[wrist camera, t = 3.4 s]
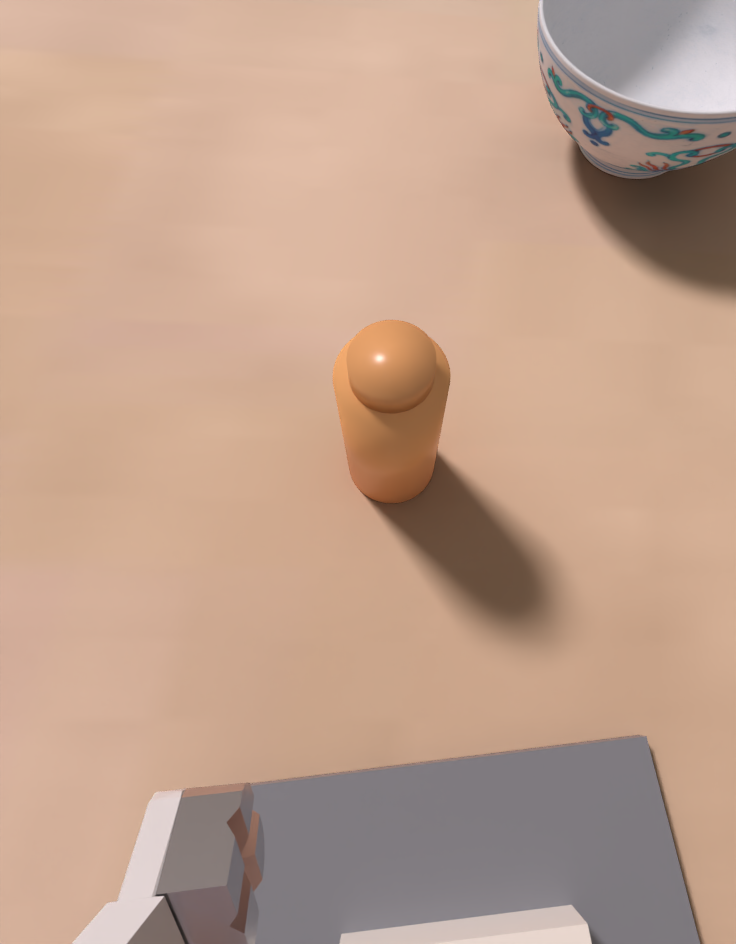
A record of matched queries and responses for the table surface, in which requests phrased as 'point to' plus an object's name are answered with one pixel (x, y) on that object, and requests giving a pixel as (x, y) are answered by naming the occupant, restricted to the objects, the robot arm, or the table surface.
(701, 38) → the chinaware
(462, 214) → the table surface
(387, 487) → the orange cylinder
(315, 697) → the table surface
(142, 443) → the table surface
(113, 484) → the table surface
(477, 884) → the holder
